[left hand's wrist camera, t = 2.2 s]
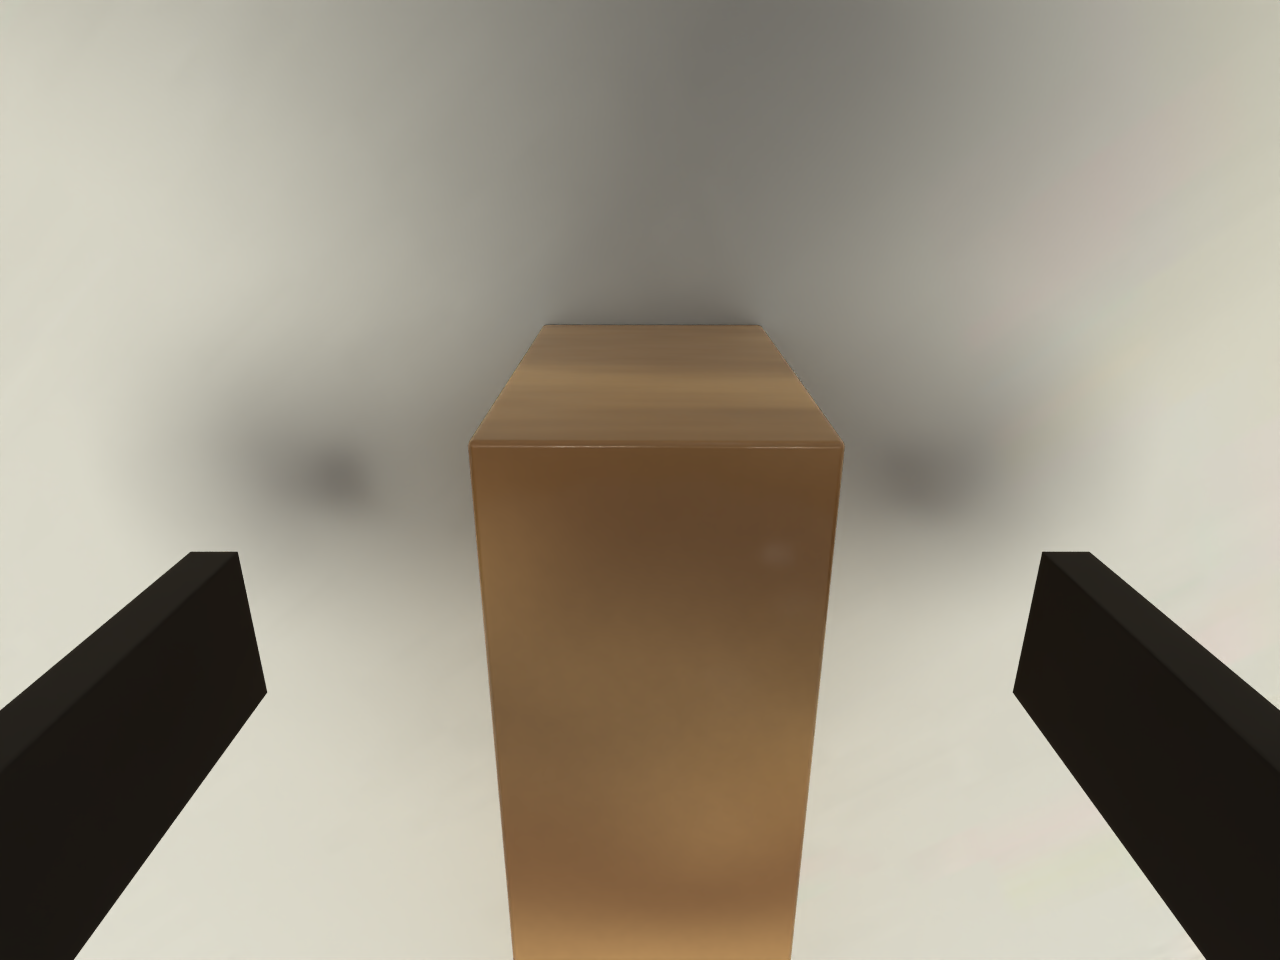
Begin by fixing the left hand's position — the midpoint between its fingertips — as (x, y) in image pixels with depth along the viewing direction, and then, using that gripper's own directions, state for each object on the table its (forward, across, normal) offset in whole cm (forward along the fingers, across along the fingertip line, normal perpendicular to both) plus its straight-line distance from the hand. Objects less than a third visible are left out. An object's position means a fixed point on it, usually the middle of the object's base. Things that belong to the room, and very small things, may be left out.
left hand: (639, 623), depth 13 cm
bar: (+7, 0, -8) cm, 10 cm away
